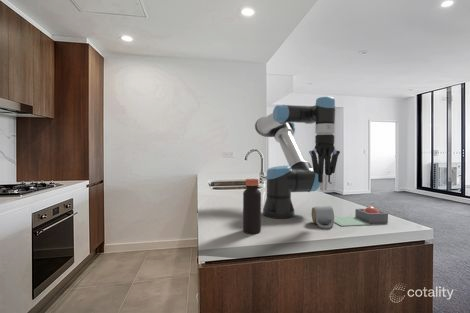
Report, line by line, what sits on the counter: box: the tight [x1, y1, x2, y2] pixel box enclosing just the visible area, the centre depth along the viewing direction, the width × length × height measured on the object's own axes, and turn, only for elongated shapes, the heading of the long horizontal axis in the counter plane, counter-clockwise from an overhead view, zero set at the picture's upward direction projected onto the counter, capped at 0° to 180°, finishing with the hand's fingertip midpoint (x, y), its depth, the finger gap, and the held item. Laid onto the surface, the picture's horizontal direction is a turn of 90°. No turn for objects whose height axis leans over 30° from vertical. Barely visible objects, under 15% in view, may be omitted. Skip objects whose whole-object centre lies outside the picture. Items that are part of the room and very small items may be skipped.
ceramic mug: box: [311, 205, 335, 230], centre depth 100 cm, size 11×8×8 cm
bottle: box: [242, 178, 262, 235], centre depth 92 cm, size 7×7×20 cm
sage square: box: [334, 215, 371, 227], centre depth 106 cm, size 13×13×1 cm
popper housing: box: [354, 208, 389, 224], centre depth 107 cm, size 9×9×4 cm
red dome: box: [363, 205, 380, 214], centre depth 107 cm, size 6×6×5 cm
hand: (323, 190), depth 102 cm, fingers closed
